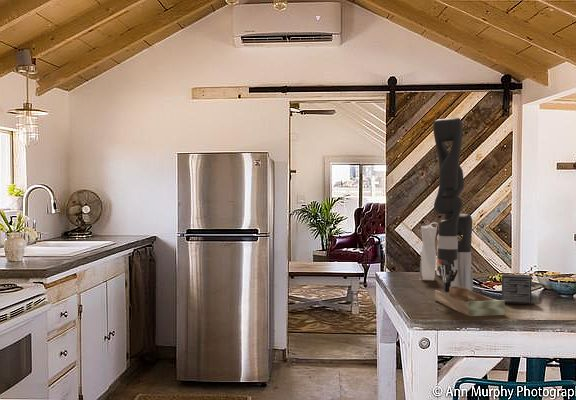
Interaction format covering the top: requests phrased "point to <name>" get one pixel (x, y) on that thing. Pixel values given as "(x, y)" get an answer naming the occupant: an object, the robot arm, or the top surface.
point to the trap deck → (473, 304)
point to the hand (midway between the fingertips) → (447, 291)
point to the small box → (516, 289)
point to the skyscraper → (428, 253)
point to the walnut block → (459, 293)
